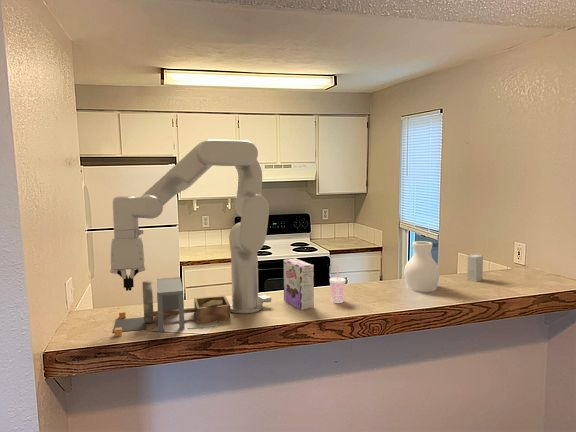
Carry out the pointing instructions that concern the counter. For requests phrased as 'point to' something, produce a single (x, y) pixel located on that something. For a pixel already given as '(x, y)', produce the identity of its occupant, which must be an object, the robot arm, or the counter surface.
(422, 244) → the vase
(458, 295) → the counter surface
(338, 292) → the beverage cup
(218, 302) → the shard
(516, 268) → the counter surface
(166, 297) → the tunnel
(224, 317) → the wooden tray with post
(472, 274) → the skincare box
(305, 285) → the candy box
